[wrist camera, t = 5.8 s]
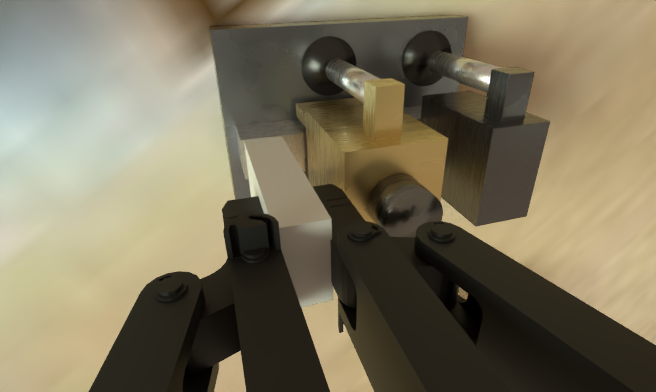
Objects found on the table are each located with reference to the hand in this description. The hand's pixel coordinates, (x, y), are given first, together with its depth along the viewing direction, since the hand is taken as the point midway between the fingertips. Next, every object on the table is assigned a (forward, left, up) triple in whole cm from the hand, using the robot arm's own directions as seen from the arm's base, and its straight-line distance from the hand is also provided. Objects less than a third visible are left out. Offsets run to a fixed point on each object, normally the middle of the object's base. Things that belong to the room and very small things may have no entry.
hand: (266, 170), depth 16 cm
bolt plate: (-5, -1, -5) cm, 7 cm away
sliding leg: (-4, -1, -3) cm, 5 cm away
